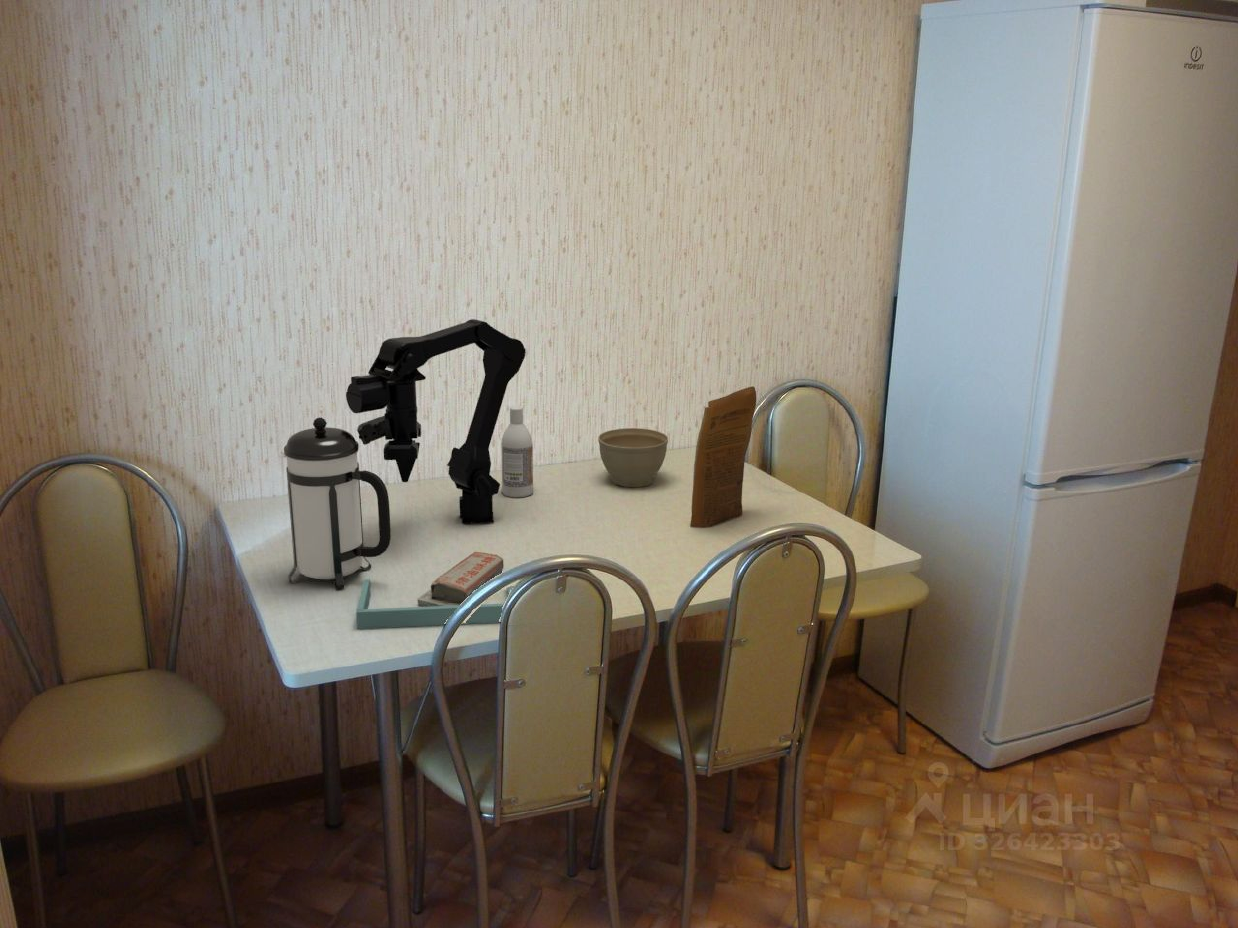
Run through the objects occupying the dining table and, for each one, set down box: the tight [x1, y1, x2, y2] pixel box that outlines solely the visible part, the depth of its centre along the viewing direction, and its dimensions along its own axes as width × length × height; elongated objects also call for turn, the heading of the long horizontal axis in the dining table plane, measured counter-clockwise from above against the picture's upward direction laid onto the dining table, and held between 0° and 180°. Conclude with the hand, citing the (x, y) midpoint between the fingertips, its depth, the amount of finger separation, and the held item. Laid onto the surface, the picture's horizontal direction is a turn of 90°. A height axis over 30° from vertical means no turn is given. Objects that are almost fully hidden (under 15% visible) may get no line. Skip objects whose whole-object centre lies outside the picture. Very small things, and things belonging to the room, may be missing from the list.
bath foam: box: [500, 405, 534, 499], centre depth 242 cm, size 7×7×20 cm
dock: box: [355, 578, 515, 630], centre depth 186 cm, size 26×14×3 cm, turn 97°
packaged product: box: [416, 551, 504, 607], centre depth 194 cm, size 18×5×10 cm
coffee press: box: [283, 417, 392, 591], centre depth 195 cm, size 17×16×30 cm
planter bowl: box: [597, 427, 669, 488], centre depth 253 cm, size 16×16×11 cm
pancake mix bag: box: [689, 386, 757, 529], centre depth 227 cm, size 7×19×28 cm, turn 134°
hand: (405, 481), depth 214 cm, fingers closed
